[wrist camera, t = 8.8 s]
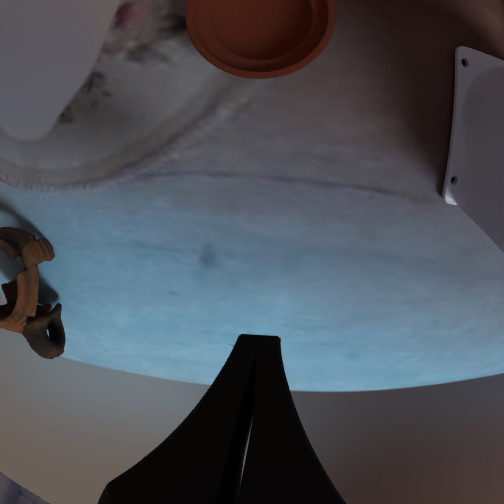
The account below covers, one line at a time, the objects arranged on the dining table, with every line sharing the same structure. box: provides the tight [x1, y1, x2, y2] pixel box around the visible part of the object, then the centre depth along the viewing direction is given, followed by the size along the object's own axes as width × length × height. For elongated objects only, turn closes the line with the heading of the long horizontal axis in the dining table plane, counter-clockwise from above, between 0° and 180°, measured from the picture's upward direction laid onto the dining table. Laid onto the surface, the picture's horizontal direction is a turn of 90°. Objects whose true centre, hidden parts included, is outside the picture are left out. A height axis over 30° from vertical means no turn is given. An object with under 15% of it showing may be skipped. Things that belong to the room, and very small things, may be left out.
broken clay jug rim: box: [0, 227, 65, 359], centre depth 21 cm, size 12×10×8 cm
